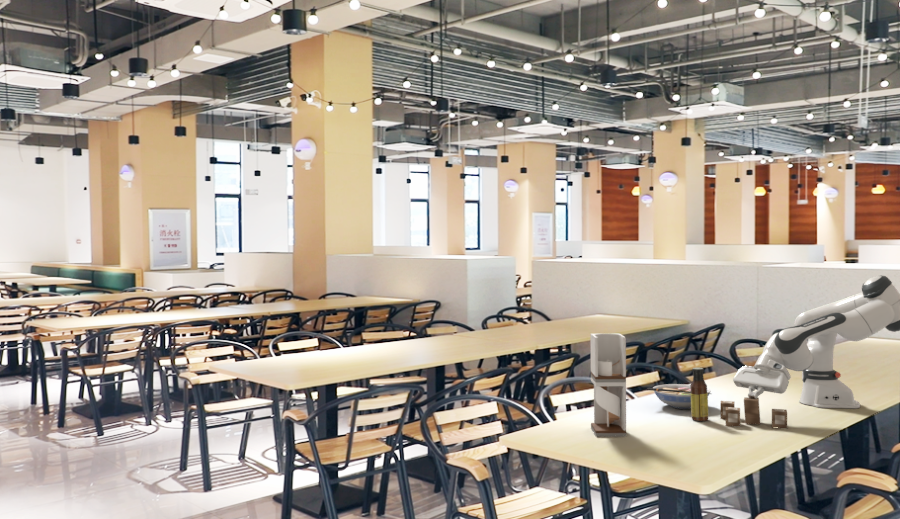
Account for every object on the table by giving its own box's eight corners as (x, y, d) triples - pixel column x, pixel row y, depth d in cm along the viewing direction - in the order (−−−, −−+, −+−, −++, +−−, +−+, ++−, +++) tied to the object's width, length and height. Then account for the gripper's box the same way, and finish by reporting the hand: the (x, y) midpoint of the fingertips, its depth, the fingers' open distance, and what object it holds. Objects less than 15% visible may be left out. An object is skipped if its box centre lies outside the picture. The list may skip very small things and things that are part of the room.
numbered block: (786, 425, 287) (786, 409, 286) (787, 429, 282) (787, 412, 282) (771, 424, 288) (771, 408, 288) (772, 428, 283) (772, 411, 283)
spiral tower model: (591, 428, 286) (590, 333, 285) (620, 428, 286) (619, 333, 284) (595, 436, 274) (595, 337, 273) (626, 436, 274) (625, 337, 273)
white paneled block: (734, 416, 301) (734, 401, 301) (734, 420, 296) (734, 403, 296) (720, 416, 303) (720, 400, 303) (720, 419, 298) (720, 402, 298)
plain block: (760, 421, 292) (758, 397, 292) (759, 424, 288) (758, 400, 288) (746, 421, 294) (744, 397, 294) (745, 424, 290) (743, 400, 290)
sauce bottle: (708, 418, 299) (708, 367, 298) (708, 422, 293) (708, 369, 292) (690, 417, 301) (690, 366, 300) (690, 421, 295) (690, 369, 294)
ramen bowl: (716, 403, 324) (716, 384, 324) (710, 415, 304) (710, 394, 303) (655, 399, 335) (655, 380, 335) (645, 410, 314) (645, 390, 314)
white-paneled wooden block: (740, 423, 290) (740, 407, 290) (740, 427, 285) (740, 410, 285) (725, 422, 292) (725, 406, 292) (725, 426, 287) (725, 409, 287)
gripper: (739, 360, 303) (723, 387, 298) (788, 366, 287) (773, 396, 281) (745, 370, 306) (730, 398, 301) (795, 377, 290) (780, 407, 284)
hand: (751, 397), depth 291 cm, fingers closed, pressing on plain block
